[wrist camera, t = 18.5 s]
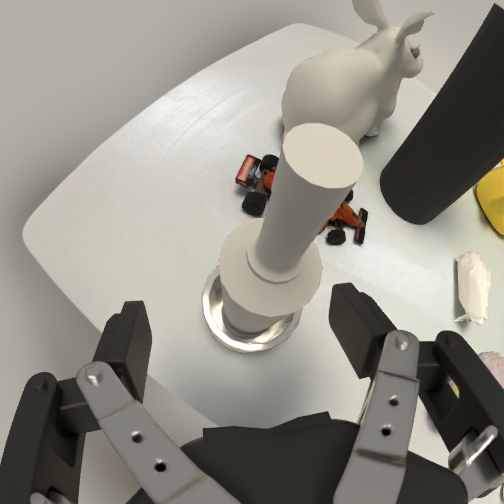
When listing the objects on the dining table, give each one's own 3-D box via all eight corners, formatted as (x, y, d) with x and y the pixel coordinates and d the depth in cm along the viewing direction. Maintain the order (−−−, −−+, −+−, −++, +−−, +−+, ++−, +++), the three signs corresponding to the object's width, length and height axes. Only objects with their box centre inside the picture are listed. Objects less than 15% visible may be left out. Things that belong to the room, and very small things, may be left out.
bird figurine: (471, 322, 34) (477, 255, 35) (497, 326, 27) (503, 248, 28) (446, 321, 34) (452, 250, 36) (470, 324, 28) (477, 242, 29)
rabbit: (401, 139, 42) (476, 24, 19) (306, 183, 37) (382, 3, 14) (356, 94, 45) (406, -22, 22) (258, 124, 40) (285, -42, 17)
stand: (210, 355, 29) (206, 355, 22) (204, 278, 32) (199, 256, 25) (290, 347, 30) (308, 344, 23) (280, 272, 33) (294, 249, 26)
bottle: (280, 302, 31) (423, 138, 7) (259, 348, 29) (396, 296, 6) (234, 281, 31) (267, 66, 8) (212, 325, 29) (169, 189, 6)
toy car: (358, 257, 34) (374, 243, 30) (227, 207, 35) (228, 187, 31) (368, 204, 37) (383, 187, 33) (250, 158, 38) (253, 136, 33)
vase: (446, 205, 39) (573, 79, 11) (413, 237, 36) (576, 87, 8) (404, 155, 41) (504, 9, 13) (366, 178, 38) (482, -5, 10)
